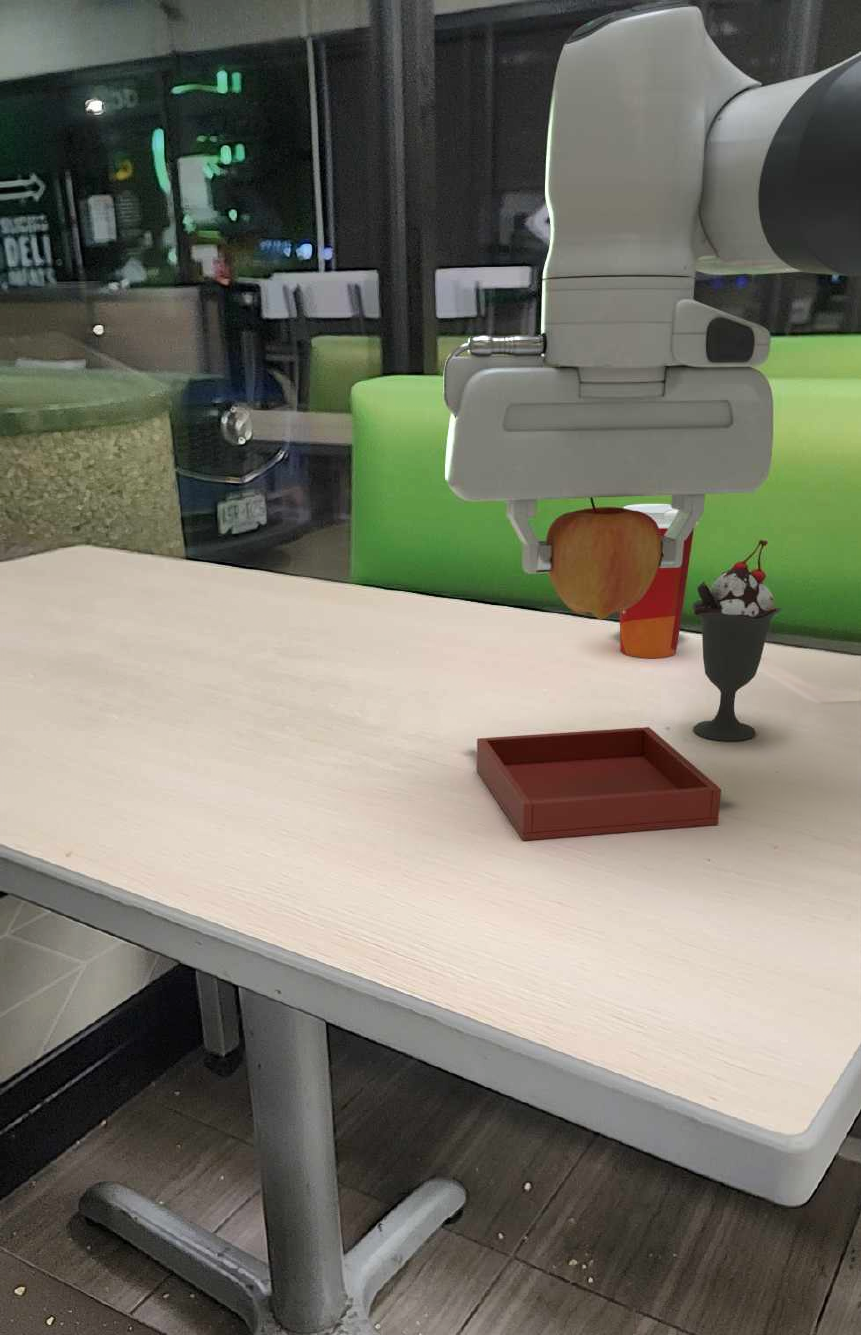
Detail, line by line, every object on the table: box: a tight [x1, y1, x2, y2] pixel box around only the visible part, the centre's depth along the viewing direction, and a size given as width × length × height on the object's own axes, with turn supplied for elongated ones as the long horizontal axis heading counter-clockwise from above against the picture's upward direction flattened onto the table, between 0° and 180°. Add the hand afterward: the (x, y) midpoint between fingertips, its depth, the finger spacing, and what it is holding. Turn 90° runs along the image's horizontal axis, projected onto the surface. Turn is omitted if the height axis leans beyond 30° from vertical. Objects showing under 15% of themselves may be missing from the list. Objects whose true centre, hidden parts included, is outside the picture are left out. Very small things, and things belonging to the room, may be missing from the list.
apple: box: [545, 497, 661, 620], centre depth 74 cm, size 7×7×8 cm
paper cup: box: [619, 503, 699, 659], centre depth 115 cm, size 8×8×14 cm
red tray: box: [476, 726, 722, 841], centre depth 80 cm, size 13×13×2 cm
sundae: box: [692, 539, 782, 742], centre depth 91 cm, size 7×7×15 cm
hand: (602, 569), depth 75 cm, fingers closed on apple, 7 cm apart
